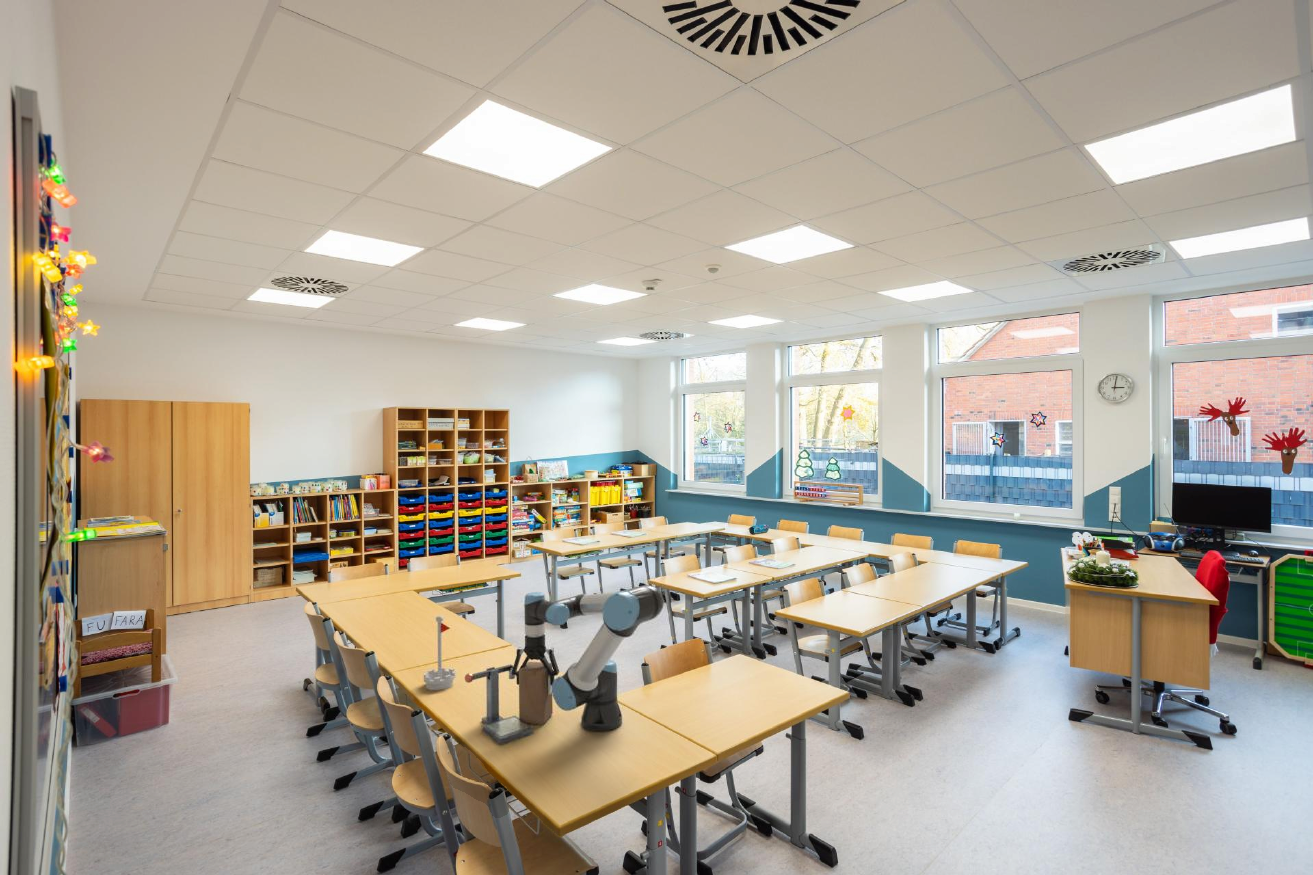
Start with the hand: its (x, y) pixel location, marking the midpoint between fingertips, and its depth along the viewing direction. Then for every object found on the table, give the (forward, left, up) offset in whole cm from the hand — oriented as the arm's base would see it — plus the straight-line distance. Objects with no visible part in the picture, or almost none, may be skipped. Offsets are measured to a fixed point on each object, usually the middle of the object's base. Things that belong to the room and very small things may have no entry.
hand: (535, 693), depth 239 cm
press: (+1, +13, -10) cm, 16 cm away
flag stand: (+58, +14, -10) cm, 61 cm away
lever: (+9, +14, +4) cm, 17 cm away
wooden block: (0, 0, -10) cm, 10 cm away
